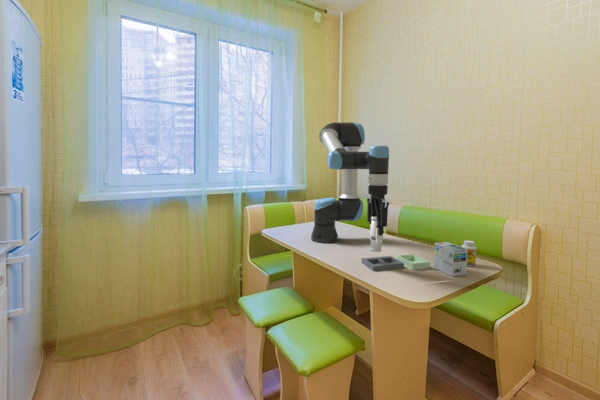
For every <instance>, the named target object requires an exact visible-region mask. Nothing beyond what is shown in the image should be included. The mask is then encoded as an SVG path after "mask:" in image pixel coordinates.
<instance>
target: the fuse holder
mask: <svg viewBox="0 0 600 400" xmlns="http://www.w3.org/2000/svg"><path fill="white" fill-rule="evenodd" d="M361 263H362V264H363V265H364V266H365V267H367V268H368V269H369V270H370V271H372V272H375V271H386V270H396V269H404V268H405V265H404V263H403V262H401V261H399V260H397V257H396V258H395V257H394V256H392V255H384V256H373V257H362V258H361Z"/></svg>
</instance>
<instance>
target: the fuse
mask: <svg viewBox="0 0 600 400" xmlns="http://www.w3.org/2000/svg"><path fill="white" fill-rule="evenodd" d="M376 226H377V216H372V217H371V240H370V248H369V251H371V252H373V253H374V252H375V253H378V252H379V253H380V252H382V243H376Z"/></svg>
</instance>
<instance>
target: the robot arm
mask: <svg viewBox="0 0 600 400" xmlns="http://www.w3.org/2000/svg"><path fill="white" fill-rule="evenodd" d="M318 138H319V142H320V143H321V145H322V146H324V147H325V149H326V151H327V153H328V154H327V166H328V168H329V169H331V170H341V194H340V195H339V196H338V200H337V199H336V197H325V198H318V199H316V200H315V201H314V207H313V210H314V213H313V214H314V217H313V219H314V223H313V224H314V225H313V229H312V232H311V235H310V240H311V239H312V240H314V241H313V242H315V241H317V242H316V243H320V242H324V243H323V244H328V243H329V242H331V243H336V242H337V240H339V234H338V232H337V229H336V222H355V221H359V220H361V217H362V216H363V211H364V201H363V200H361V197H360V196H359V195H358V170H368V184H369V185H368V186H367V187H368V191H367V193H368V194H369V195H370V198H367V199H366V202H367V211H366V212H367V216H366V217H367V222H369V226H370V227H369V241H371V217H372V216H377V226H376V243H381V244H382V243H384V242H383V241H384V228H386V227H387V226H388V213H389V210H388V209H389V205H390V202H388V201H386V198H385V196H387V194H388V188H389V187H388V184H389V166H390V165H389V164H390V163H389V161H390V160H389V159H390V147H389V146H388V145H372V146H370V147H369V151H359V150H360V149H361V147H362V145H364V144H365V139H366V134H365V129H364V127H363V125H362V124H361V123H359V122H331V123H328V124H326V125H324V127H322V129H320V132H319V136H318ZM312 240H311V241H312ZM335 241H336V242H335ZM329 244H330V243H329Z"/></svg>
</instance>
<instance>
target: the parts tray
mask: <svg viewBox="0 0 600 400" xmlns="http://www.w3.org/2000/svg"><path fill="white" fill-rule="evenodd" d="M396 259H397V260H399V261H401V262H403V263H404V267H407V268H408V269H411V270H413V271H414V270H415V271H416V270H423V269H424V270H425V269H430V266H431V262H430V261H429V260H427V259H425V258H422V257H420V256H418V255H417V254H414V253H411V254H408V253H407V254H398V255H396Z"/></svg>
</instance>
